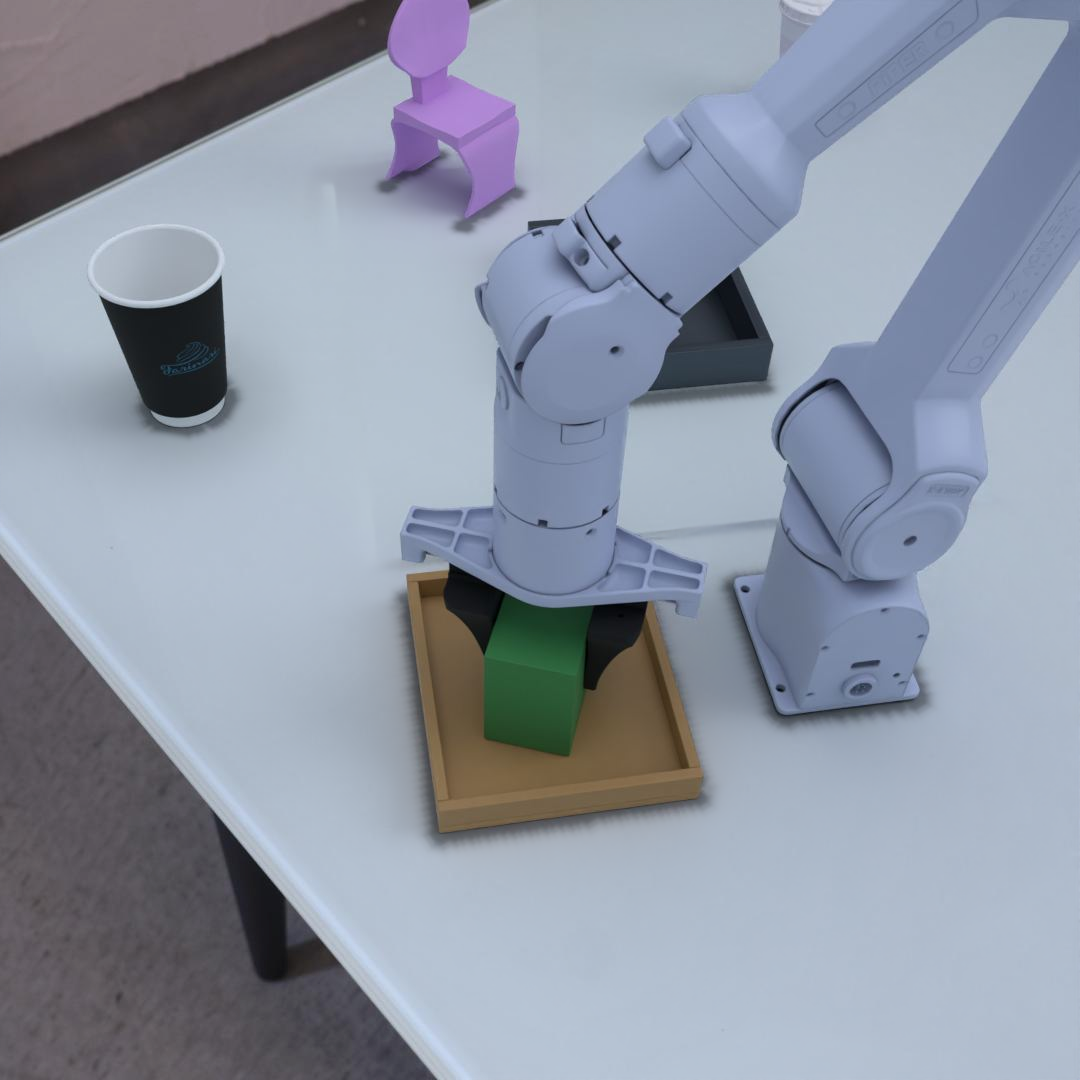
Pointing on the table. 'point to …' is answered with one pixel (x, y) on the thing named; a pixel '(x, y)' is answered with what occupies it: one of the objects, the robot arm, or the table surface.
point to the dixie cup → (167, 316)
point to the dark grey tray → (713, 338)
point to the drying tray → (537, 776)
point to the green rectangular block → (535, 675)
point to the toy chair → (448, 102)
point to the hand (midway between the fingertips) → (546, 664)
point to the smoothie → (798, 19)
